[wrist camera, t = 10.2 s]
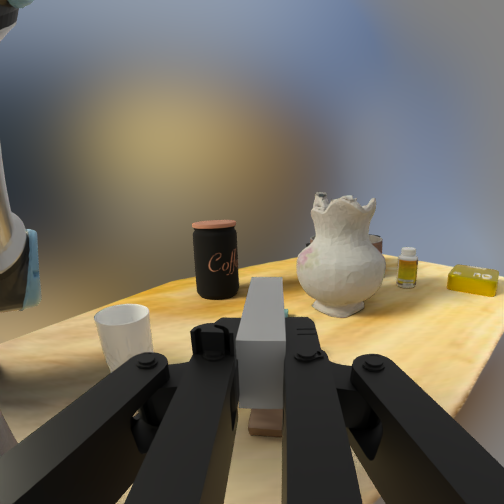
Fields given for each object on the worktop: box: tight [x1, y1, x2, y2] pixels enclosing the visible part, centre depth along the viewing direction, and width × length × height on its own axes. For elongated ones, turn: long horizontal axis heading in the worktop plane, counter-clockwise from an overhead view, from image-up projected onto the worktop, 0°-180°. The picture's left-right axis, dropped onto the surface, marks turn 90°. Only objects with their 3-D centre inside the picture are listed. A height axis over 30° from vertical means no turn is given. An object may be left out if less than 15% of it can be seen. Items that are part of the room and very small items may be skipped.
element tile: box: [447, 265, 499, 297], centre depth 71 cm, size 15×15×5 cm
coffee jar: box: [192, 220, 239, 300], centre depth 77 cm, size 11×11×18 cm
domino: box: [248, 409, 283, 437], centre depth 33 cm, size 5×2×10 cm
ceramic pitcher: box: [297, 192, 386, 318], centre depth 66 cm, size 22×20×25 cm
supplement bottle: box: [397, 247, 418, 288], centre depth 76 cm, size 6×6×10 cm
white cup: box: [94, 304, 154, 373], centre depth 40 cm, size 8×8×10 cm
